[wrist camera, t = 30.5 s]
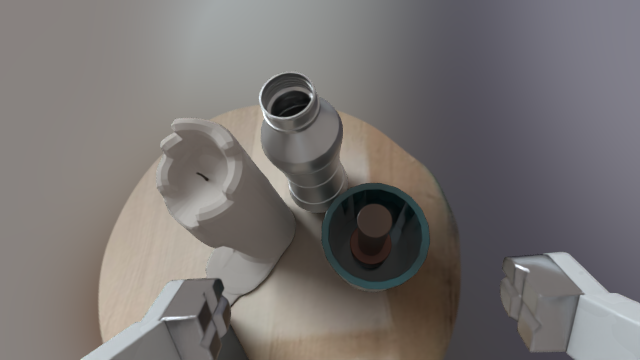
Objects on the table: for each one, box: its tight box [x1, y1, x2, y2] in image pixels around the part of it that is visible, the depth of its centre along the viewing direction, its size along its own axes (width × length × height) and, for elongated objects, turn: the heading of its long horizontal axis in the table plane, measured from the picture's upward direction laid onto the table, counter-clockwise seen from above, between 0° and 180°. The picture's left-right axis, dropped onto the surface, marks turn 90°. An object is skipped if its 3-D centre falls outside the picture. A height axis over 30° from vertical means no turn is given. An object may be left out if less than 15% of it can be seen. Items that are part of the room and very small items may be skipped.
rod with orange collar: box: [350, 204, 392, 268], centre depth 30 cm, size 4×4×14 cm
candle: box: [156, 118, 295, 306], centre depth 29 cm, size 7×14×20 cm, turn 145°
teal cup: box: [321, 183, 430, 292], centre depth 32 cm, size 9×9×10 cm
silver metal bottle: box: [259, 71, 348, 213], centre depth 31 cm, size 6×7×20 cm
